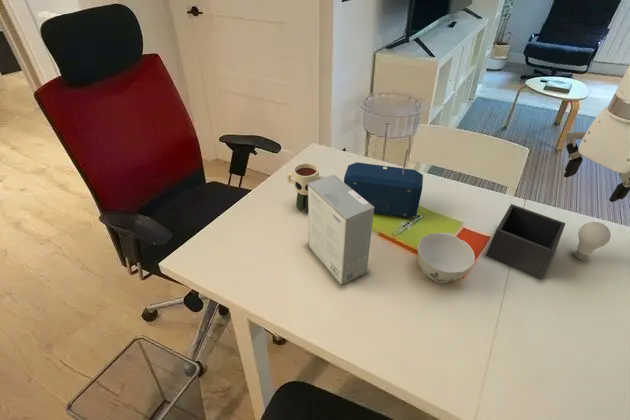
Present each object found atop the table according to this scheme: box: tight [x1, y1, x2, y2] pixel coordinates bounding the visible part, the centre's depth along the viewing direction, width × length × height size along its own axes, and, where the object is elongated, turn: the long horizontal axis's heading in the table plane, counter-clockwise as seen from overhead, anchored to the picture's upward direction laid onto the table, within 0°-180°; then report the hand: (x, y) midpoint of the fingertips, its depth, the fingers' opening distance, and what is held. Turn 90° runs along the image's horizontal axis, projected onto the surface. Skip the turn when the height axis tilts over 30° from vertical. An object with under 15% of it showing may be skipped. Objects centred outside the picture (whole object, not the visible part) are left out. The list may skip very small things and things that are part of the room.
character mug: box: [286, 162, 326, 213], centre depth 105 cm, size 11×7×13 cm, turn 78°
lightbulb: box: [574, 221, 612, 261], centre depth 89 cm, size 6×6×11 cm
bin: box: [485, 203, 566, 280], centre depth 92 cm, size 13×13×9 cm
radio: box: [343, 149, 424, 219], centre depth 103 cm, size 21×9×20 cm, turn 76°
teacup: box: [416, 231, 476, 284], centre depth 87 cm, size 15×12×8 cm
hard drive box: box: [307, 174, 375, 285], centre depth 87 cm, size 16×8×20 cm, turn 32°
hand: (591, 187), depth 77 cm, fingers open, 9 cm apart
